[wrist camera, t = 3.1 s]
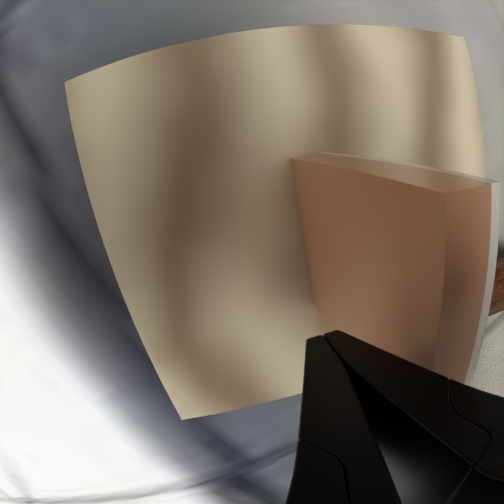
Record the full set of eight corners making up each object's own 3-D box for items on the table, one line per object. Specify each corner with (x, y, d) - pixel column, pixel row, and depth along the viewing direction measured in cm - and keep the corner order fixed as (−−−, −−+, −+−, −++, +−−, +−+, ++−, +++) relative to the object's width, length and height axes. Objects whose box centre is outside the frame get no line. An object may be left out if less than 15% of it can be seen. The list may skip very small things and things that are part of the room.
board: (454, 40, 13) (464, 37, 12) (467, 317, 20) (474, 323, 19) (72, 85, 12) (64, 82, 11) (182, 408, 19) (181, 419, 18)
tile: (323, 152, 14) (499, 181, 4) (341, 296, 16) (452, 433, 7) (289, 158, 14) (444, 193, 4) (313, 304, 16) (410, 455, 7)
